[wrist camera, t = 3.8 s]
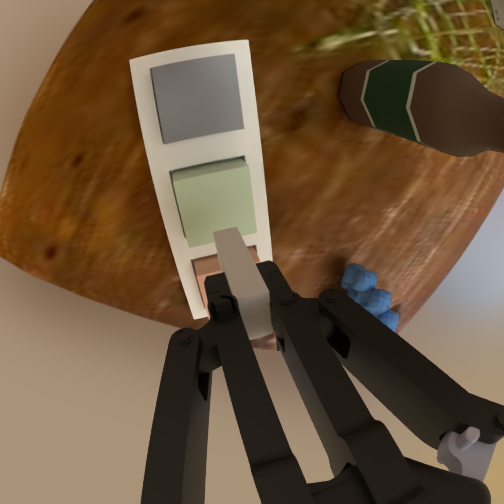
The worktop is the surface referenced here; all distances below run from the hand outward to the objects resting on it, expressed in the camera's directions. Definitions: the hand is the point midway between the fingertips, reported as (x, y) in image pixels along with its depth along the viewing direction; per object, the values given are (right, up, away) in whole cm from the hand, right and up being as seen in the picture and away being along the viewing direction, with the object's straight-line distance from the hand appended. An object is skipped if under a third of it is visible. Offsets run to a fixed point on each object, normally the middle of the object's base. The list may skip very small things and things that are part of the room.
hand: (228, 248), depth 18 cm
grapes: (+14, -4, +21) cm, 25 cm away
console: (-3, +6, +10) cm, 12 cm away
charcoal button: (-3, +12, +3) cm, 13 cm away
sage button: (-2, +5, +7) cm, 9 cm away
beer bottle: (+14, +17, +8) cm, 23 cm away
